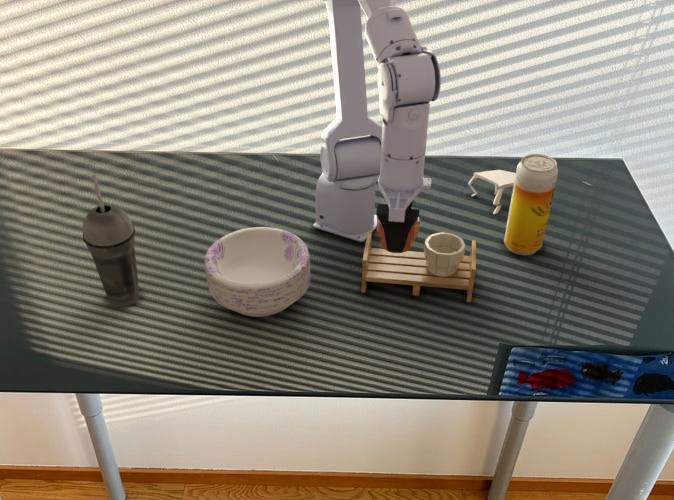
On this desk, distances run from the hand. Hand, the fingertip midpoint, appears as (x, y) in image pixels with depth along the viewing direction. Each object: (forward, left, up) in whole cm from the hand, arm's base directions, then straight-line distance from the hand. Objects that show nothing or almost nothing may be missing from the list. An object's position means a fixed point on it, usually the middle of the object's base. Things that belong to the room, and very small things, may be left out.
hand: (396, 238), depth 108 cm
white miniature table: (+6, +33, -11) cm, 35 cm away
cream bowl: (+5, +6, -8) cm, 11 cm away
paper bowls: (-17, -10, -11) cm, 23 cm away
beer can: (+13, +22, -11) cm, 28 cm away
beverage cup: (-35, -20, -11) cm, 42 cm away
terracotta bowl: (0, 0, -1) cm, 1 cm away
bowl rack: (+2, +5, -11) cm, 12 cm away
